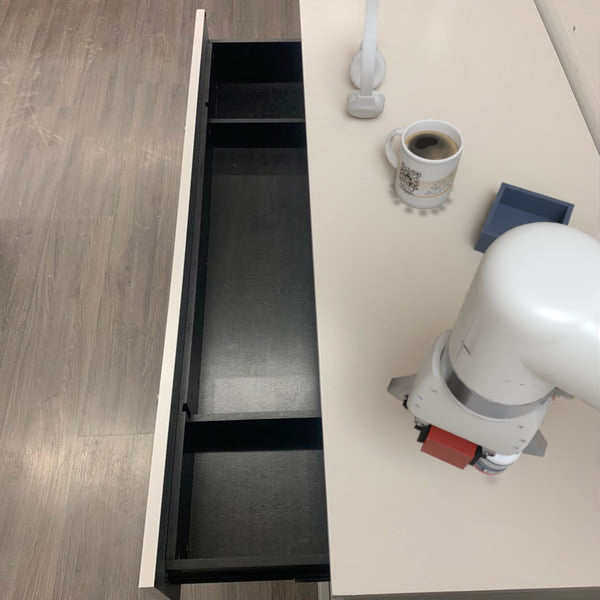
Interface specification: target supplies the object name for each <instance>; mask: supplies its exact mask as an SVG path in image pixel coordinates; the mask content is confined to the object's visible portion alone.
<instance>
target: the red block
mask: <svg viewBox="0 0 600 600" xmlns="http://www.w3.org/2000/svg"><path fill="white" fill-rule="evenodd" d="M477 445H478V444H476V443H473V442H471V441H469V440H466V439H464V438H462V437H459V436H457V435H455V434H452V433H450V432H448V431H446V430H443V429H441V428H439V427H437V426H434V425H431V428H430V430H429V433H428V435H427V437H426V439H425V441H424V443H423V442H422V445H421V448H420V452H422V453H424V454H427V455H429V456H431V457H433V458H435V459H437V460H440V461H441V462H444V463H446V464H449V465H451V466H453V467H455V468H457V469H459V470H462V471H463V470H465V468H466V467H467V466H468V465H469V462H470V461H471V460H472V459H473V457H474V454H475V451H476V448H477Z"/></svg>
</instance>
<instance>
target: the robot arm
mask: <svg viewBox="0 0 600 600" xmlns="http://www.w3.org/2000/svg"><path fill="white" fill-rule="evenodd" d="M386 391H387V393H389V394H390V395H391V396H393V397H394V398H395V399H397V400H398V401H401V402H402V407H404V409H405V410H407V411H408V412H409V413H410V414H411V415H412V416H414V419H413V423H414V427H413V429H415V430H418V431H419V434H418V436H417V439H416V442H417V443H420V444H423V443H424V441H425V439H426V437H427V435H428V433H429V430H430V428H431V425H434V426H437V427H439V428H441V429H443V430H446V431H448V432H450V433H452V434H455V435H457V436H459V437H462V438H464V439H466V440H469V441H471V442H473V443H476V444H478V445H477V448H476V451H475V454H474V457H473V459H472V460H471V461H470V462H469V464H468V465H469V466H472V467H474V466H473V465H474V464H475V463H476V462H477V461H478V460H479V459H480V458H483V459H485V458H486V457H487V456H490V457H495V455H496V452H498V453H501V454H504V455H515V454H518V453H519V452H522V453H521V454H525V455H530V456H535V457H541V458H543V457H545V455H546V451H547V447H548V441H547V440H546V438H545V436H544V435H543V434H542V432H541V430H540V427H541V425H542V424H543V421H544V419H545V418H546V415H547V414H548V411H549V408H550V405H551V404H552V402H553V401H552V399H553V398H554V396H556V397H557V398H561V397H562V398H565V399H567V400H570V401H572V400H573V399H574V398H575V399H578V400H579V401H581V402H583V403H584V404H586V405H588V406H590V408H592V409H594V410H595V411H597V412H599V413H600V240H599V239H597V238H596V237H594V236H592V235H591V234H590V233H587V232H586V231H583V230H581V229H579V228H577V227H574V226H571V225H569V224H568V225H564V224H559V223H551V222H536V223H530V224H524V225H521V226H518V227H515V228H513V229H511V230H509V231H507V232H505V233H504V234H502V235H501V236H500V237H498V238H497V239H496V240H495V241H494V242H493V243H492V244H491V245H490V246H489V247H488V249H487V250H486V252H485V253H483V255H482V257H481V259H480V261H479V263H478V265H477V268H476V270H475V272H474V275H473V278H472V281H471V283H470V285H469V288H468V290H467V292H466V295H465V297H464V299H463V302H462V305H461V307H460V310H459V312H458V314H457V318H456V320H455V322H454V324H453V326H452V329H447V330H446V331H444V332H443V333H442V334H440V335H439V336H438V337H437V338H436V339H435V341H433V342H432V344H431V345H430V347H429V348H428V349H427V351H426V353H425V355H424V357H423V359H422V361H421V363H420V365H419V367H418V370H417V372H416V374H410V375H404V376H396V377H391V379H390V382H389V384H388V386H387V388H386ZM551 401H552V402H551Z"/></svg>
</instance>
